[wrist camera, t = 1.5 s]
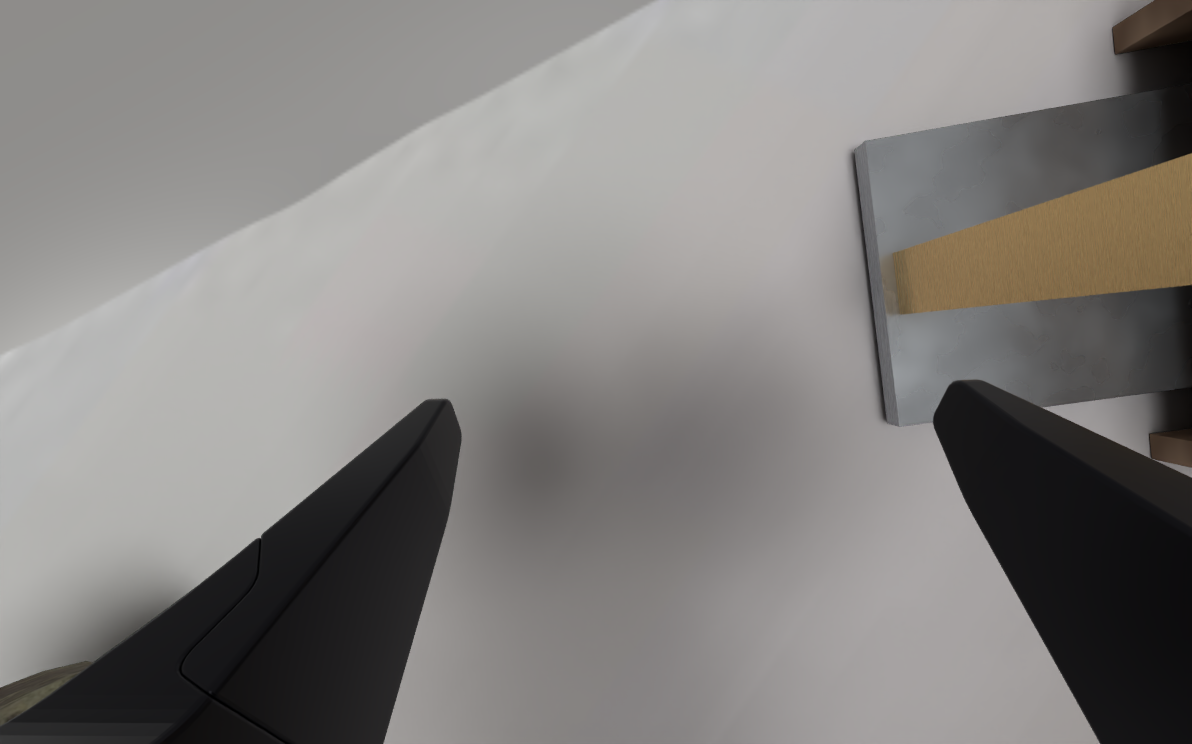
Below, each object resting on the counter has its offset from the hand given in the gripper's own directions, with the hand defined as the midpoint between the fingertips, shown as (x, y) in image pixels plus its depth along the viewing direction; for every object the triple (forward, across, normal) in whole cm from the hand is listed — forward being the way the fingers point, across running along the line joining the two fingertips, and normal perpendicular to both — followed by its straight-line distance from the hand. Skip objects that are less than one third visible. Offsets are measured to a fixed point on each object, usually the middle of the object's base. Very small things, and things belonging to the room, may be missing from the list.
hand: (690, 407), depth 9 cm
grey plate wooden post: (+15, -24, +4) cm, 28 cm away
